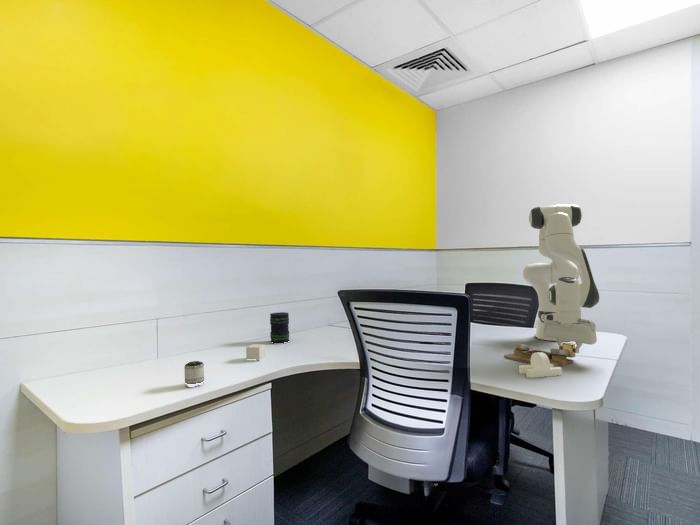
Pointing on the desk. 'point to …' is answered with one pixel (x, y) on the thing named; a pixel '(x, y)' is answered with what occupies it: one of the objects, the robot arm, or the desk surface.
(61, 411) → the desk surface
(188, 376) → the camera lens
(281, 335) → the storage jar
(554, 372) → the slotted bracket
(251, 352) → the cream cube
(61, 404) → the desk surface
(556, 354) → the angled shaft stand
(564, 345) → the coupler
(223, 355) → the desk surface
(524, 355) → the bench
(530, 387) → the desk surface
